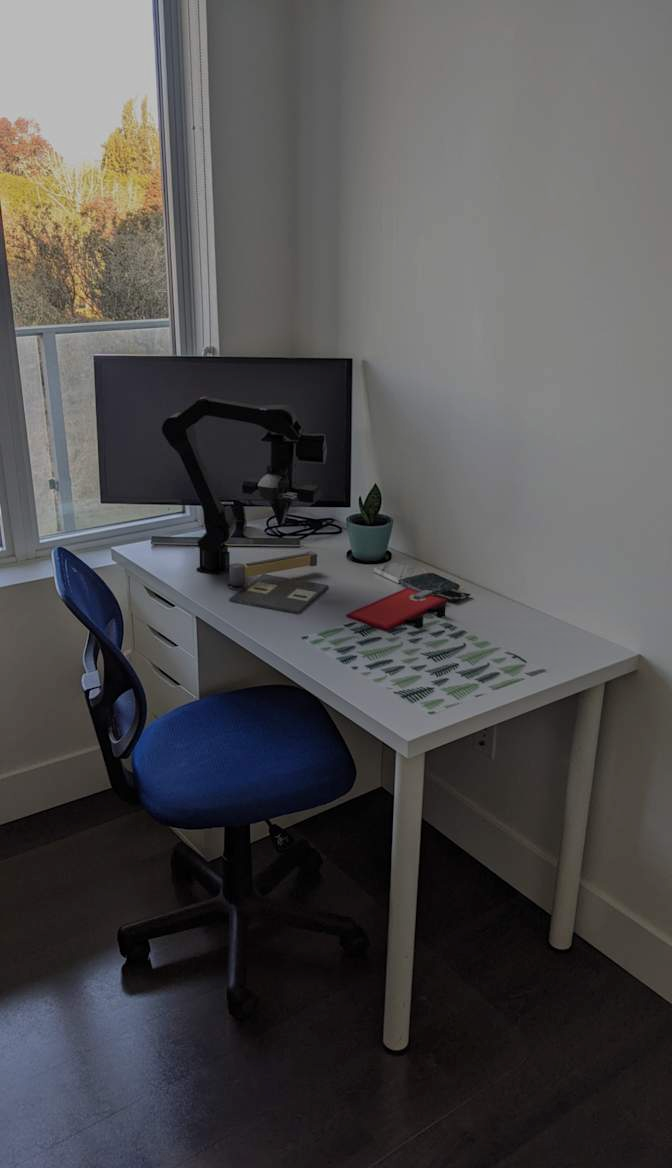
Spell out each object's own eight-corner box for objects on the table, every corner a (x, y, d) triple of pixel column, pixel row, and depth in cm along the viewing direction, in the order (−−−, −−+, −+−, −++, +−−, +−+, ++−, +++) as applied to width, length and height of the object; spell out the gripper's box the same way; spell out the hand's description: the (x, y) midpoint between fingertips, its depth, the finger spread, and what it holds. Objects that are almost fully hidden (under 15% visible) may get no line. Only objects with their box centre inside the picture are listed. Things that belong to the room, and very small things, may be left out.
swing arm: (234, 587, 212) (234, 569, 211) (227, 582, 215) (226, 564, 214) (317, 571, 225) (318, 554, 223) (309, 566, 227) (310, 550, 226)
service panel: (210, 597, 208) (210, 593, 208) (245, 573, 224) (245, 569, 223) (298, 613, 201) (298, 610, 201) (328, 587, 217) (328, 583, 216)
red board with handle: (477, 600, 213) (425, 584, 222) (478, 589, 212) (426, 573, 221) (400, 639, 192) (346, 620, 201) (401, 627, 191) (346, 608, 200)
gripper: (230, 462, 209) (230, 527, 215) (304, 472, 203) (302, 539, 209) (251, 453, 219) (251, 515, 225) (323, 462, 213) (321, 526, 218)
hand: (280, 524), depth 219 cm, fingers closed
